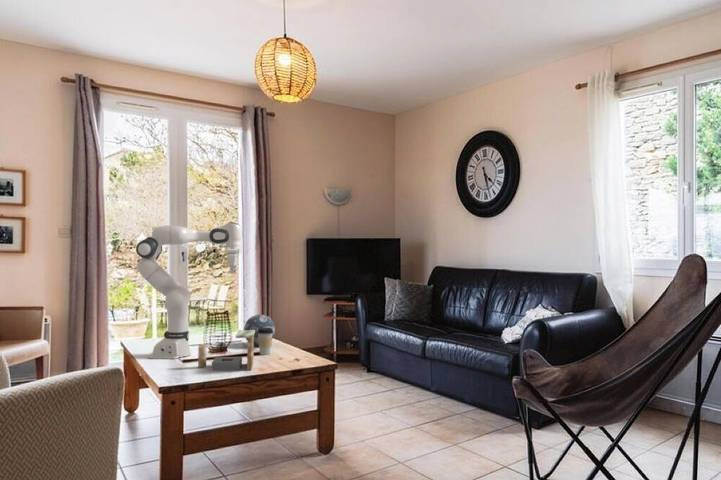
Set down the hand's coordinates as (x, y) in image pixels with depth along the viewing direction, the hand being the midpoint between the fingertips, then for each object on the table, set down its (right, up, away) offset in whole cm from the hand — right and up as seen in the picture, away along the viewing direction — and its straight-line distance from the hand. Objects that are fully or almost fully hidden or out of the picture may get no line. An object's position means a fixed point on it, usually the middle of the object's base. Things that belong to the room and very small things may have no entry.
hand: (233, 273), depth 289 cm
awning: (+14, -48, -29) cm, 58 cm away
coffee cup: (+18, -48, +2) cm, 52 cm away
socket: (+5, -48, -30) cm, 57 cm away
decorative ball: (+10, -49, +26) cm, 56 cm away
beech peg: (-8, -48, -31) cm, 57 cm away
